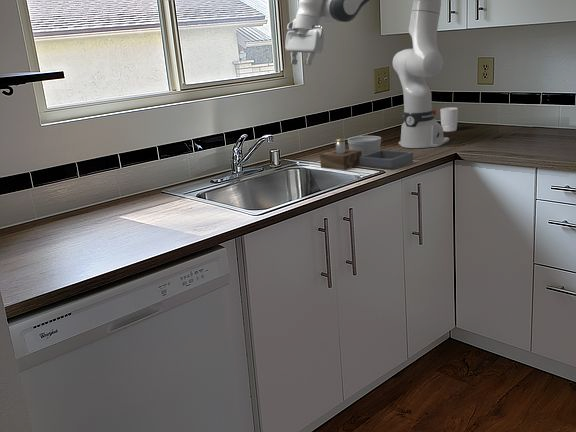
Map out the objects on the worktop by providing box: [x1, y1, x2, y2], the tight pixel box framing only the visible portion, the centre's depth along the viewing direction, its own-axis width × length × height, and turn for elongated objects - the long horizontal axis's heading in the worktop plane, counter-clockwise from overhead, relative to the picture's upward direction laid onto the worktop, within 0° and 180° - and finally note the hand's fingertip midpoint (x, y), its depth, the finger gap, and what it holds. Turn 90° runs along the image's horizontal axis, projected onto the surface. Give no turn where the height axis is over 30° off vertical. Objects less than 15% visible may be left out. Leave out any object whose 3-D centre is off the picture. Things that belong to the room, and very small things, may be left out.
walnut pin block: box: [319, 148, 362, 171], centre depth 236 cm, size 11×11×5 cm
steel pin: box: [335, 138, 346, 154], centre depth 236 cm, size 3×3×10 cm
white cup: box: [439, 107, 459, 133], centre depth 291 cm, size 8×8×10 cm
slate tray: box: [359, 149, 414, 170], centre depth 233 cm, size 14×14×4 cm
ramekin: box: [347, 135, 382, 156], centre depth 251 cm, size 13×13×7 cm
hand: (300, 64), depth 230 cm, fingers open, 8 cm apart
